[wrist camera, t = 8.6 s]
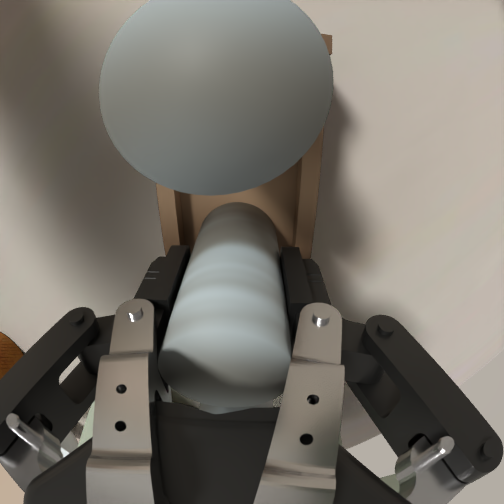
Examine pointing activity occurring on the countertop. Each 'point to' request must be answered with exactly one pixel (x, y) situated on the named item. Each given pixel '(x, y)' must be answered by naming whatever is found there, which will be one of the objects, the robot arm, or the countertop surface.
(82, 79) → the countertop surface
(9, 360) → the disposable coffee cup
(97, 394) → the robot arm
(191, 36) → the tray
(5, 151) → the countertop surface
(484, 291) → the countertop surface
